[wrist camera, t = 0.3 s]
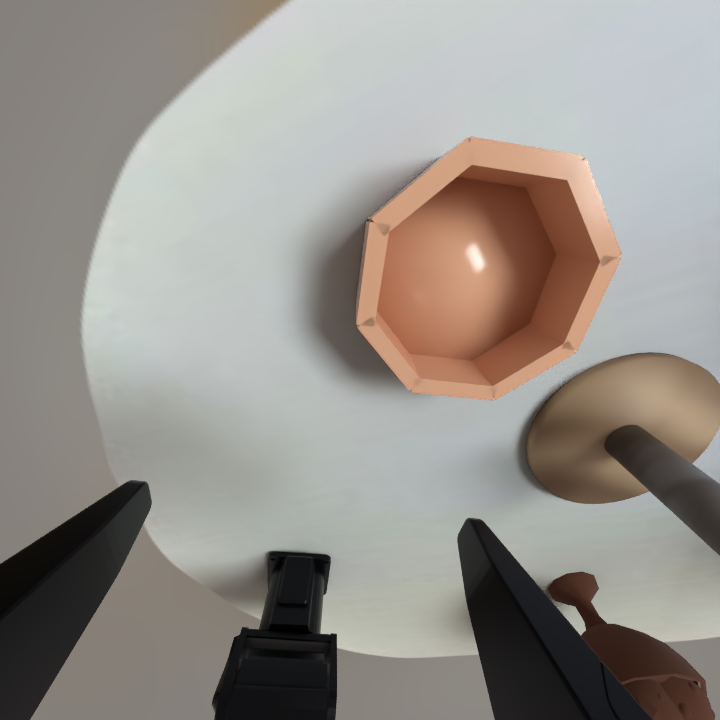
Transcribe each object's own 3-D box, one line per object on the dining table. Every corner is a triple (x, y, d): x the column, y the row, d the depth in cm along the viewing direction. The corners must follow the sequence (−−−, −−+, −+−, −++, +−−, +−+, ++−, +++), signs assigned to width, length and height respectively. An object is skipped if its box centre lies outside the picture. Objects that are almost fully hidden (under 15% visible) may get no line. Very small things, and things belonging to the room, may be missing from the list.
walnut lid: (647, 498, 30) (829, 672, 18) (501, 487, 29) (600, 663, 17) (748, 362, 24) (1121, 498, 12) (567, 341, 22) (789, 468, 11)
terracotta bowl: (516, 373, 23) (551, 406, 19) (349, 355, 22) (348, 385, 18) (592, 180, 18) (663, 169, 14) (375, 145, 17) (382, 121, 13)
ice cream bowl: (638, 559, 34) (831, 790, 20) (593, 614, 38) (724, 831, 25) (548, 553, 33) (685, 789, 19) (513, 610, 38) (604, 832, 24)
